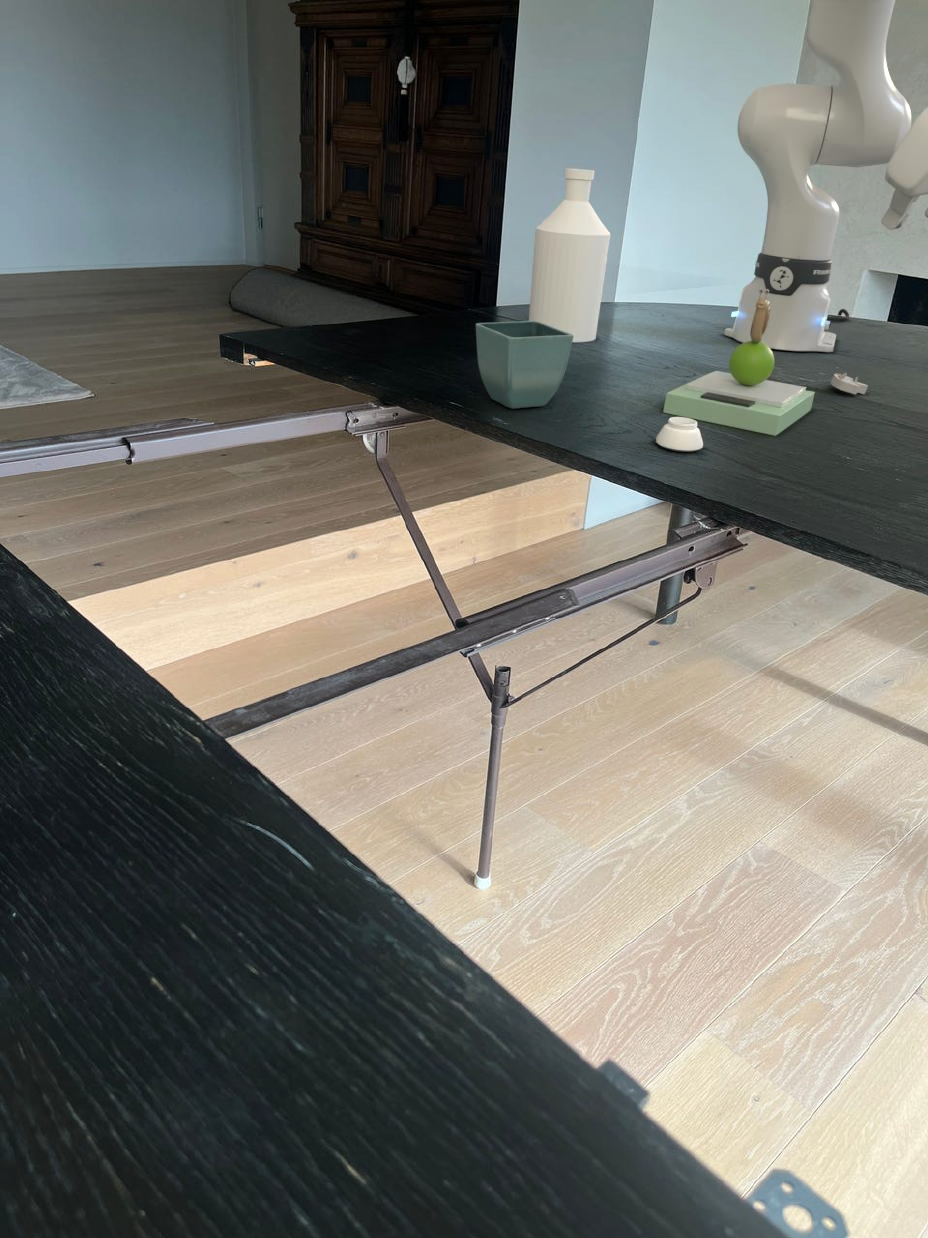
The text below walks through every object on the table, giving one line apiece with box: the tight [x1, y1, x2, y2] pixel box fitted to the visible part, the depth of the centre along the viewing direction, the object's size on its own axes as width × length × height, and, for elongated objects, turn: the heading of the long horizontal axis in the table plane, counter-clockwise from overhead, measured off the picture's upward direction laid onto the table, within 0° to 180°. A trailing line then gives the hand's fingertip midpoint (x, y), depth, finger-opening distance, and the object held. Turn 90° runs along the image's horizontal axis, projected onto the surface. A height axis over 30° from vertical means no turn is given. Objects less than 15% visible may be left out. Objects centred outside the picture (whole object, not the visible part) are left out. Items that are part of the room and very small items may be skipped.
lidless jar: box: [655, 416, 704, 453], centre depth 104 cm, size 5×3×5 cm
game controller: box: [781, 372, 869, 395], centre depth 134 cm, size 6×12×3 cm, turn 100°
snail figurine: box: [728, 288, 775, 386], centre depth 118 cm, size 5×6×12 cm
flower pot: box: [475, 320, 574, 410], centre depth 115 cm, size 9×9×9 cm
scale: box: [662, 370, 816, 437], centre depth 120 cm, size 16×14×3 cm
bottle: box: [528, 167, 612, 343], centre depth 153 cm, size 12×12×25 cm
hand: (910, 221), depth 105 cm, fingers open, 8 cm apart
